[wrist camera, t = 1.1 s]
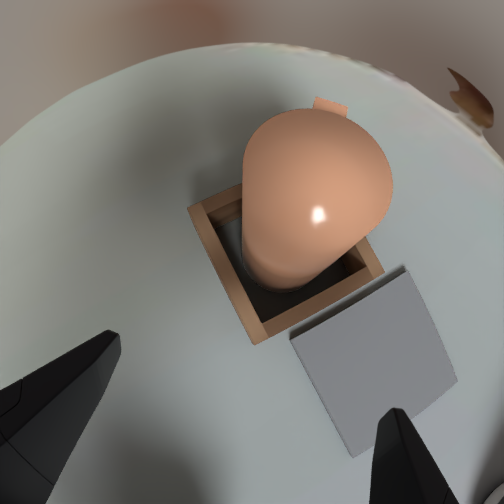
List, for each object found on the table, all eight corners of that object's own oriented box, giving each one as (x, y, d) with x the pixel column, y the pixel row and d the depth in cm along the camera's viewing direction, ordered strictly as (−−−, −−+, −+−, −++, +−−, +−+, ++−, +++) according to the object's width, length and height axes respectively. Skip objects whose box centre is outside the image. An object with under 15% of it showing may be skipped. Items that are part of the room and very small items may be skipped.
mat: (453, 380, 22) (457, 381, 21) (350, 455, 20) (353, 458, 20) (404, 271, 24) (407, 270, 24) (289, 339, 23) (290, 340, 22)
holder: (366, 281, 24) (385, 272, 21) (252, 343, 23) (254, 345, 19) (305, 175, 26) (313, 153, 23) (193, 225, 25) (186, 208, 21)
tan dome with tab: (309, 302, 23) (381, 264, 11) (231, 279, 24) (220, 215, 11) (334, 198, 26) (398, 95, 13) (264, 177, 26) (282, 57, 13)
